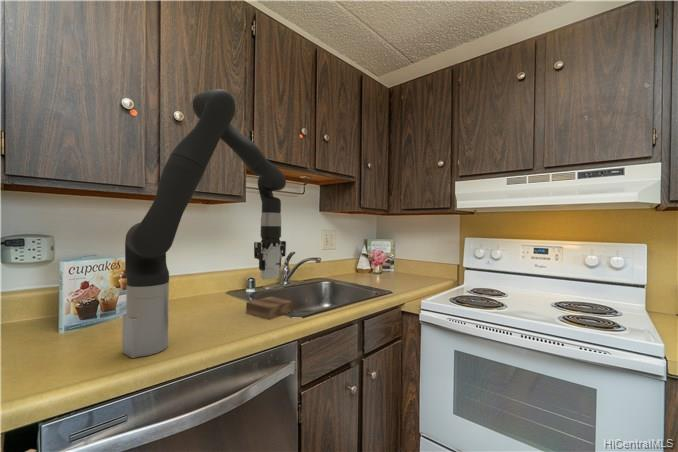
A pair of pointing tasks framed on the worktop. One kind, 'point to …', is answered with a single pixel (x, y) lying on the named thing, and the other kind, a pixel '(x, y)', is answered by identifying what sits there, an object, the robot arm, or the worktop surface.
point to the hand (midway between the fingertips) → (270, 269)
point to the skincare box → (271, 264)
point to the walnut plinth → (269, 307)
